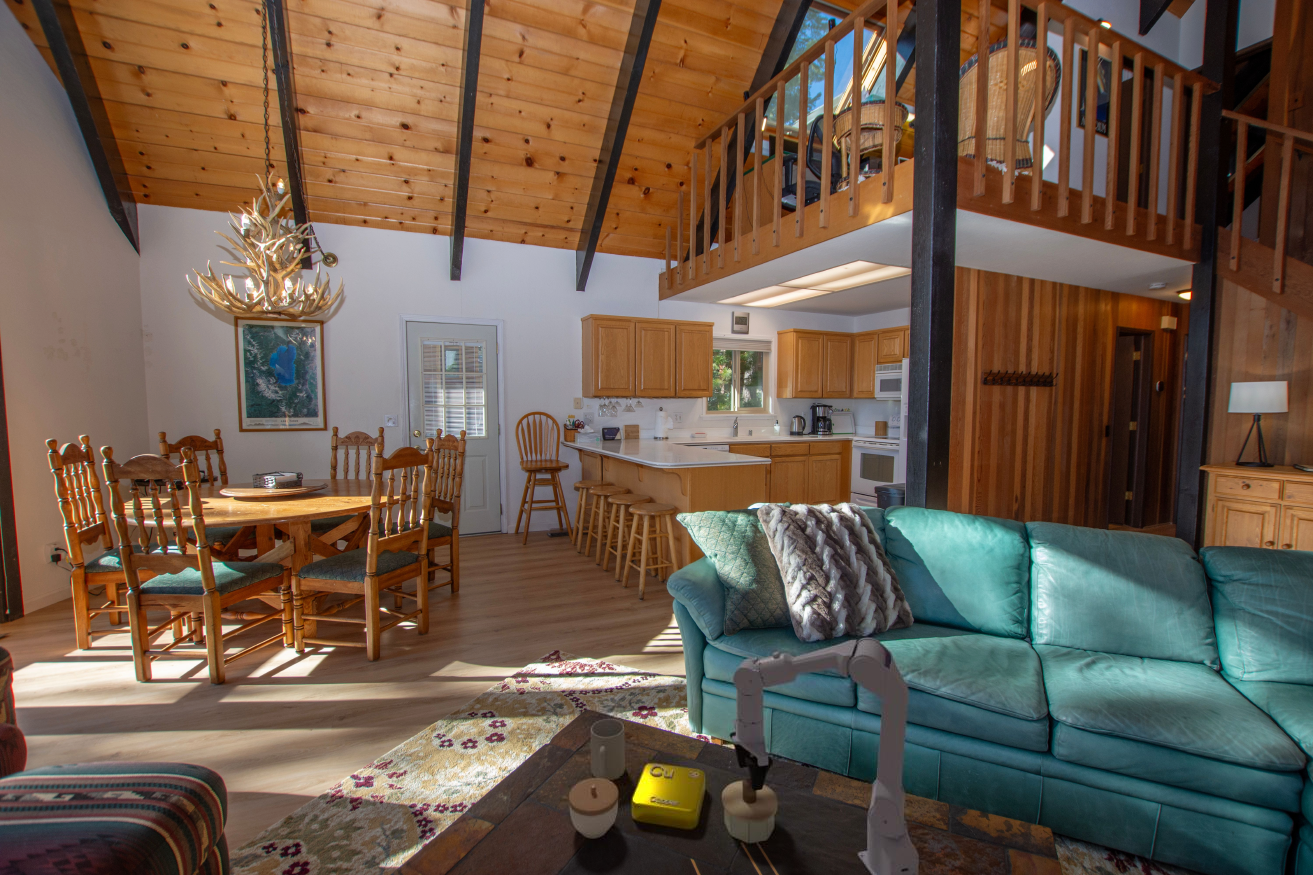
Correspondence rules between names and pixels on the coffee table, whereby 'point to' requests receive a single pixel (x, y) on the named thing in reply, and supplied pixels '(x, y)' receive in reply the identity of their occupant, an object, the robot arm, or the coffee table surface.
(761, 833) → the bowl
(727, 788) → the lid
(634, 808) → the element tile
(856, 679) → the robot arm
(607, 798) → the lidded jar
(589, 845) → the coffee table surface
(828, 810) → the coffee table surface
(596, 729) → the mug
